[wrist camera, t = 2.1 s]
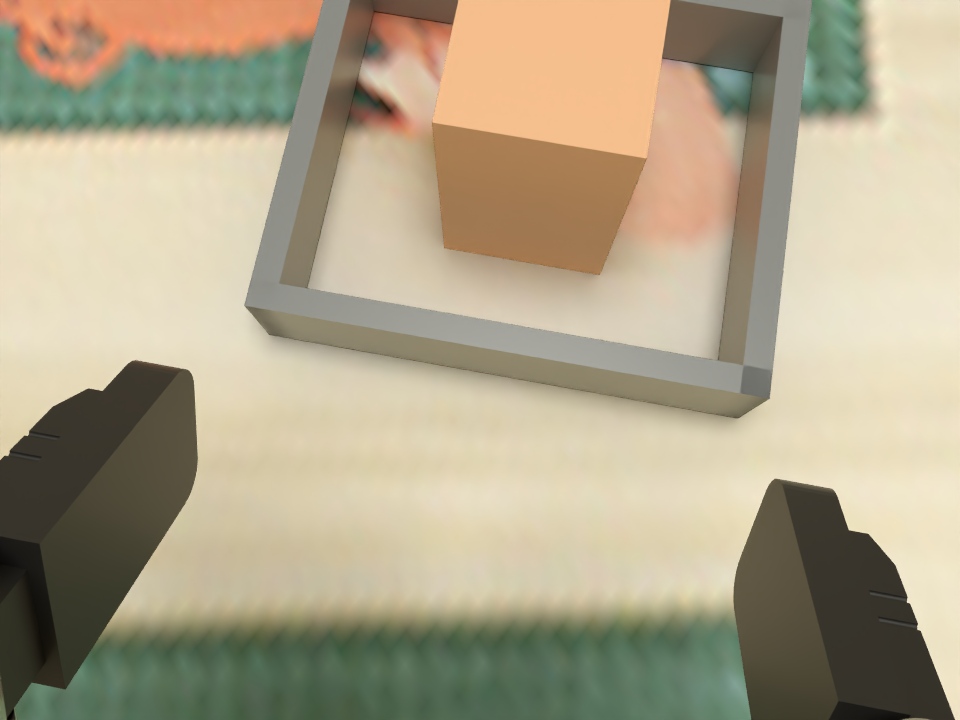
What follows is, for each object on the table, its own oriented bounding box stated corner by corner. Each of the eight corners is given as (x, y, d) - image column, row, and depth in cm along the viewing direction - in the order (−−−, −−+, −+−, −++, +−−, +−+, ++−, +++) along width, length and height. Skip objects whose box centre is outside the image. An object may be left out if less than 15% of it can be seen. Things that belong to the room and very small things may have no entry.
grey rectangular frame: (269, 334, 27) (244, 305, 24) (356, -13, 30) (342, -76, 27) (737, 418, 27) (769, 398, 24) (779, 55, 30) (811, -2, 27)
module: (444, 248, 28) (432, 122, 20) (473, 108, 29) (471, -61, 22) (599, 275, 28) (646, 158, 20) (622, 133, 29) (675, -28, 21)
